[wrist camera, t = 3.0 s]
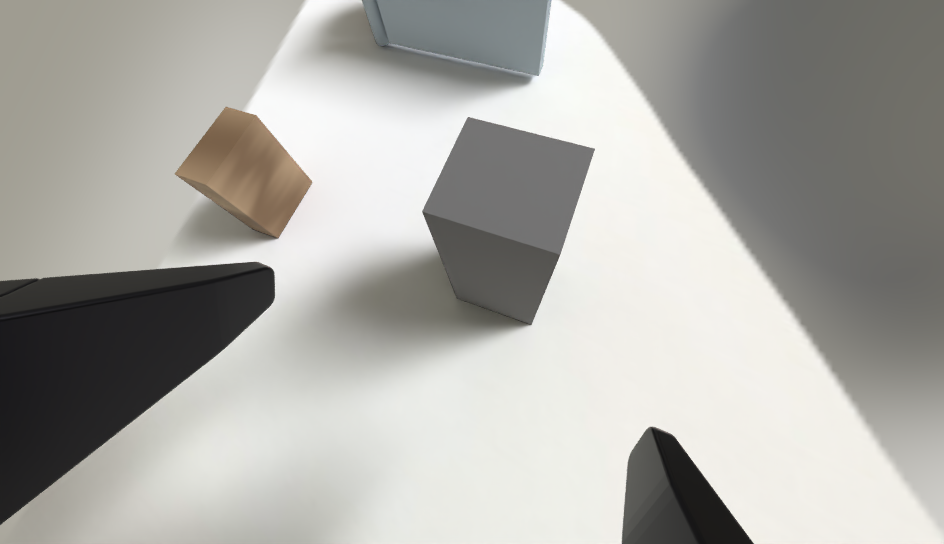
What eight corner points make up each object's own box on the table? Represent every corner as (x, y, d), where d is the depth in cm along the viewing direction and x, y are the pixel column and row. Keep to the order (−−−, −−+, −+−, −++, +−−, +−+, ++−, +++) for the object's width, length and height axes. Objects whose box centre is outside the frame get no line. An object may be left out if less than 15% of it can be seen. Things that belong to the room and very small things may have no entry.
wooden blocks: (278, 238, 23) (206, 184, 17) (252, 229, 23) (174, 174, 18) (423, 1, 30) (405, -92, 24) (402, -3, 30) (380, -95, 25)
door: (373, 44, 28) (341, -46, 22) (388, 21, 29) (361, -71, 23) (537, 80, 26) (548, -11, 20) (548, 54, 26) (562, -41, 21)
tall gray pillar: (531, 324, 20) (560, 254, 10) (457, 298, 21) (422, 211, 11) (552, 262, 21) (594, 149, 12) (481, 239, 22) (467, 117, 12)
